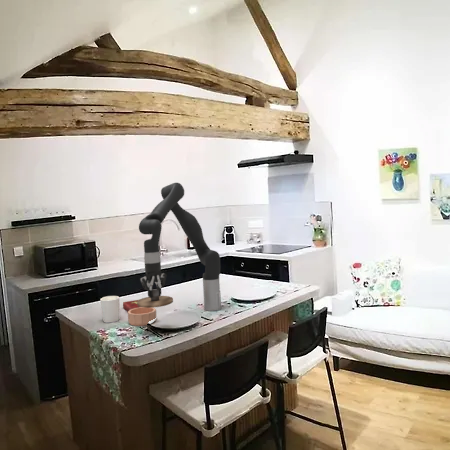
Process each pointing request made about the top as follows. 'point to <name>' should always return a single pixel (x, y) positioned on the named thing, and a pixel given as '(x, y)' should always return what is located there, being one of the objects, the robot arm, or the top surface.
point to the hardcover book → (130, 305)
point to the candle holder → (110, 308)
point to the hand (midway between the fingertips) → (154, 296)
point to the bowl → (141, 316)
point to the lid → (155, 300)
